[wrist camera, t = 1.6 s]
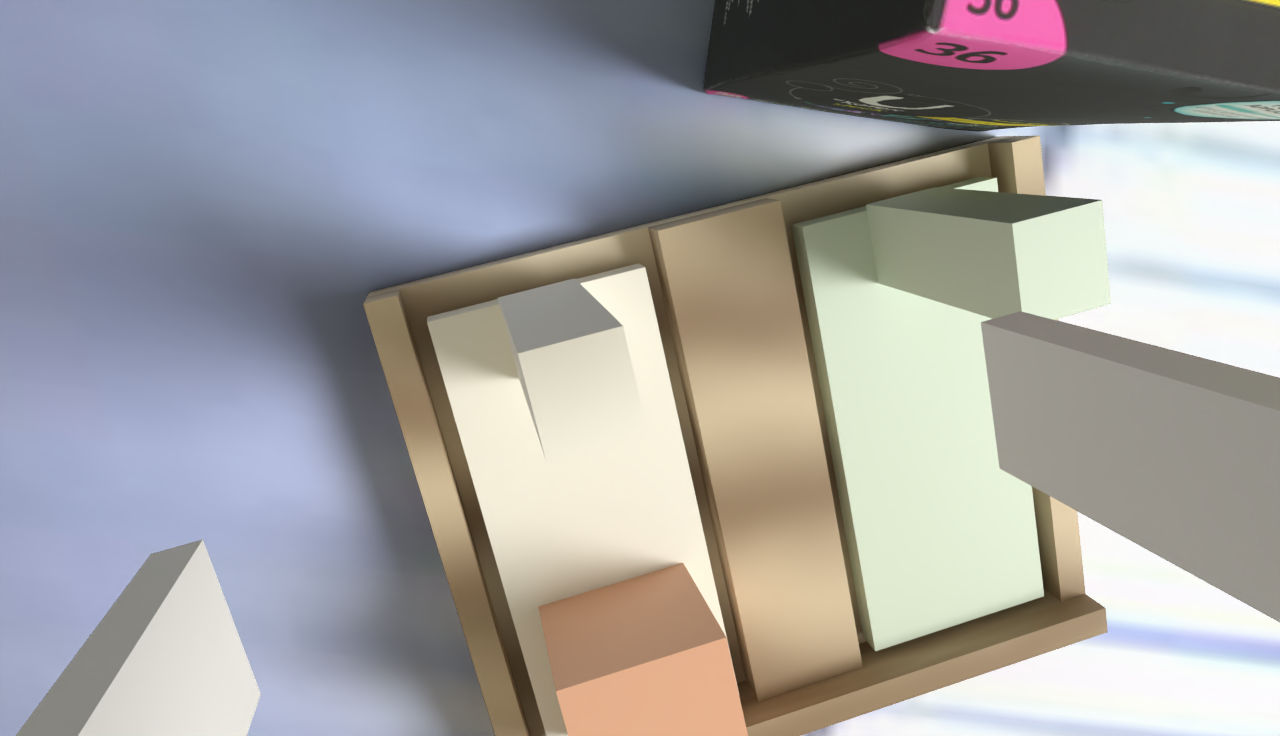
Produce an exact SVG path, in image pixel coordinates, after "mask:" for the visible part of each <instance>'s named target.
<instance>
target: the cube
mask: <svg viewBox="0 0 1280 736" xmlns="http://www.w3.org/2000/svg"><path fill="white" fill-rule="evenodd" d="M538 608H539V613H540V618H541V623H542V627H543V632H544V637H545V642H546V647H547V652H548V656H549V661H550V666H551V671H552V676H553V680H554V685H555V690H556V694H557V698H558V701H559V705H560V708H561V712H562V715H563V719H564V722H565V726H566V730H567V733H568V736H748V733H747V729H746V724H745V719H744V715H743V710H742V706H741V701H740V697H739V692H738V688H737V683H736V679H735V674H734V669H733V665H732V660H731V656H730V651H729V647H728V642H727V638H726V636H725V634H724V632H723V631H722V629H721V627H720V625H719V624H718V622H717V620H716V618H715V617H714V615H713V613H712V612H711V610H710V608H709V606H708V605H707V603H706V601H705V600H704V598H703V596H702V594H701V593H700V591H699V589H698V587H697V586H696V584H695V582H694V581H693V579H692V577H691V575H690V574H689V572H688V570H687V568H686V567H685V565H684V563H681V564H677V565H674V566H671V567H667V568H664V569H661V570H658V571H654V572H651V573H648V574H644V575H641V576H638V577H634V578H631V579H628V580H625V581H621V582H618V583H615V584H611V585H608V586H605V587H601V588H598V589H595V590H592V591H588V592H585V593H582V594H578V595H575V596H572V597H568V598H565V599H562V600H558V601H555V602H552V603H549V604H545V605H542V606H539V607H538Z"/></svg>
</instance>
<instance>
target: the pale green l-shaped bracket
mask: <svg viewBox="0 0 1280 736" xmlns="http://www.w3.org/2000/svg"><path fill="white" fill-rule="evenodd" d="M791 226H792V231H793V237H794V243H795V249H796V254H797V260H798V266H799V271H800V277H801V283H802V289H803V294H804V300H805V306H806V312H807V317H808V323H809V329H810V334H811V340H812V346H813V352H814V357H815V363H816V369H817V375H818V380H819V386H820V392H821V397H822V403H823V409H824V415H825V420H826V426H827V432H828V438H829V443H830V449H831V455H832V460H833V466H834V472H835V478H836V483H837V489H838V495H839V501H840V506H841V512H842V518H843V524H844V529H845V535H846V541H847V546H848V552H849V558H850V564H851V569H852V575H853V581H854V587H855V592H856V598H857V604H858V609H859V615H860V621H861V627H862V632H863V638H864V639H865V640H866V641H867V642H868V644H869V645H870V646H871V647H872V648H873V649H874V650H875V651H878V650H881V649H884V648H888V647H891V646H894V645H897V644H900V643H903V642H906V641H909V640H912V639H915V638H918V637H921V636H924V635H927V634H930V633H933V632H936V631H940V630H943V629H946V628H949V627H952V626H955V625H958V624H961V623H964V622H967V621H970V620H973V619H976V618H979V617H982V616H985V615H988V614H991V613H995V612H998V611H1001V610H1004V609H1007V608H1010V607H1013V606H1016V605H1019V604H1022V603H1025V602H1028V601H1031V600H1034V599H1037V598H1040V597H1043V596H1044V590H1043V581H1042V572H1041V563H1040V554H1039V546H1038V537H1037V528H1036V519H1035V510H1034V501H1033V492H1032V486H1031V485H1029V484H1027V483H1025V482H1023V481H1022V480H1020V479H1018V478H1016V477H1014V476H1012V475H1011V474H1009V473H1007V472H1005V471H1003V470H1001V469H1000V468H999V460H998V453H997V445H996V437H995V429H994V422H993V414H992V406H991V399H990V391H989V383H988V376H987V368H986V360H985V353H984V345H983V337H982V330H981V322H983V321H987V320H991V319H994V318H998V317H1001V316H1005V315H1008V314H1012V313H1016V312H1019V311H1021V312H1025V313H1029V314H1033V315H1037V316H1041V317H1045V318H1049V319H1053V320H1055V319H1058V318H1062V317H1066V316H1069V315H1073V314H1076V313H1080V312H1083V311H1087V310H1091V309H1094V308H1098V307H1101V306H1105V305H1108V304H1111V301H1110V289H1109V277H1108V265H1107V253H1106V241H1105V229H1104V217H1103V205H1102V200H1095V199H1082V198H1069V197H1056V196H1043V195H1030V194H1017V193H1004V192H998V183H997V178H994V177H977V178H973V179H969V180H965V181H961V182H957V183H953V184H949V185H945V186H942V187H933V188H929V189H925V190H921V191H917V192H913V193H909V194H905V195H901V196H897V197H894V198H890V199H886V200H882V201H878V202H874V203H870V204H866V206H863V207H859V208H855V209H851V210H847V211H843V212H839V213H835V214H831V215H827V216H823V217H819V218H815V219H811V220H807V221H803V222H799V223H796V224H792V225H791Z"/></svg>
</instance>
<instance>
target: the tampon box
mask: <svg viewBox="0 0 1280 736" xmlns="http://www.w3.org/2000/svg"><path fill="white" fill-rule="evenodd" d="M704 91H705V93H707V94H715V95H722V96H729V97H737V98H744V99H750V100H755V101H761V102H768V103H774V104H780V105H787V106H794V107H800V108H807V109H813V110H819V111H826V112H832V113H839V114H846V115H853V116H860V117H867V118H874V119H881V120H889V121H896V122H904V123H911V124H918V125H925V126H932V127H940V128H948V129H957V130H969V131H988V130H994V129H1005V128H1016V127H1030V126H1056V125H1087V124H1115V123H1185V122H1236V121H1280V0H715V7H714V14H713V22H712V29H711V36H710V43H709V51H708V58H707V65H706V73H705V81H704Z"/></svg>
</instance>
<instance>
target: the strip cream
mask: <svg viewBox="0 0 1280 736" xmlns="http://www.w3.org/2000/svg"><path fill="white" fill-rule="evenodd" d="M427 324H428V328H429V331H430V335H431V338H432V342H433V345H434V349H435V352H436V356H437V359H438V363H439V366H440V369H441V373H442V376H443V380H444V383H445V387H446V390H447V394H448V397H449V401H450V404H451V408H452V411H453V414H454V418H455V421H456V425H457V428H458V432H459V435H460V439H461V442H462V446H463V449H464V453H465V456H466V459H467V463H468V466H469V470H470V473H471V477H472V480H473V484H474V487H475V491H476V494H477V498H478V501H479V504H480V508H481V511H482V515H483V518H484V522H485V525H486V529H487V532H488V536H489V539H490V543H491V546H492V549H493V553H494V556H495V560H496V563H497V567H498V570H499V574H500V577H501V581H502V584H503V587H504V591H505V594H506V598H507V601H508V605H509V608H510V612H511V615H512V619H513V622H514V626H515V629H516V632H517V636H518V639H519V643H520V646H521V650H522V653H523V657H524V660H525V664H526V667H527V671H528V674H529V677H530V681H531V684H532V688H533V691H534V695H535V698H536V702H537V705H538V709H539V712H540V716H541V719H542V722H543V726H544V729H545V733H546V736H568V733H567V730H566V726H565V722H564V719H563V715H562V712H561V708H560V705H559V701H558V698H557V694H556V690H555V685H554V680H553V676H552V671H551V666H550V661H549V656H548V652H547V647H546V642H545V637H544V632H543V627H542V623H541V618H540V613H539V608H538V607H539V606H542V605H545V604H549V603H552V602H555V601H558V600H562V599H565V598H568V597H572V596H575V595H578V594H582V593H585V592H588V591H592V590H595V589H598V588H601V587H605V586H608V585H611V584H615V583H618V582H621V581H625V580H628V579H631V578H634V577H638V576H641V575H644V574H648V573H651V572H654V571H658V570H661V569H664V568H667V567H671V566H674V565H677V564H681V563H684V565H685V567H686V568H687V570H688V572H689V574H690V575H691V577H692V579H693V581H694V582H695V584H696V586H697V587H698V589H699V591H700V593H701V594H702V596H703V598H704V600H705V601H706V603H707V605H708V606H709V608H710V610H711V612H712V613H713V615H714V617H715V618H716V620H717V622H718V624H719V625H720V627H721V629H722V631H723V632H724V634H725V636H726V632H725V627H724V623H723V618H722V614H721V609H720V605H719V600H718V596H717V591H716V587H715V582H714V577H713V573H712V568H711V564H710V559H709V555H708V550H707V546H706V541H705V536H704V532H703V527H702V523H701V518H700V514H699V509H698V505H697V500H696V496H695V491H694V486H693V482H692V477H691V473H690V468H689V464H688V459H687V455H686V450H685V446H684V441H683V436H682V432H681V427H680V423H679V418H678V414H677V409H676V405H675V400H674V395H673V391H672V386H671V382H670V377H669V373H668V368H667V364H666V359H665V355H664V350H663V345H662V341H661V336H660V332H659V327H658V323H657V318H656V314H655V309H654V305H653V300H652V295H651V291H650V286H649V282H648V277H647V273H646V268H645V267H644V266H643V265H641V264H639V263H638V264H634V265H630V266H626V267H622V268H618V269H614V270H610V271H606V272H602V273H598V274H594V275H590V276H586V277H582V278H578V279H575V278H574V279H570V280H566V281H562V282H558V283H554V284H550V285H546V286H542V287H538V288H534V289H530V290H526V291H522V292H518V293H514V294H510V295H506V296H502V297H499V298H498V299H496V300H492V301H488V302H484V303H480V304H476V305H472V306H468V307H464V308H460V309H456V310H452V311H448V312H444V313H440V314H436V315H432V316H428V317H427ZM726 638H727V637H726ZM727 642H728V641H727ZM728 647H729V646H728ZM729 651H730V650H729ZM730 656H731V655H730ZM731 660H732V659H731ZM732 665H733V664H732ZM733 669H734V668H733ZM734 674H735V673H734ZM735 679H736V677H735ZM736 683H737V682H736ZM737 688H738V687H737ZM738 692H739V691H738Z"/></svg>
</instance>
